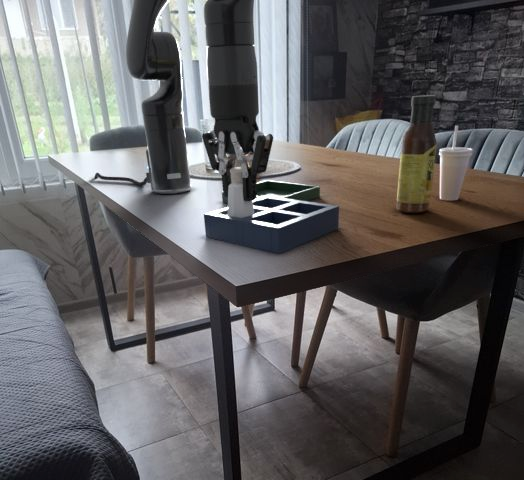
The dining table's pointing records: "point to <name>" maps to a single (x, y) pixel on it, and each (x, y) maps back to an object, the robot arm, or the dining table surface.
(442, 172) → the smoothie
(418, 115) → the sauce bottle
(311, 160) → the dining table surface
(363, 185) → the dining table surface
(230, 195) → the pepper shaker
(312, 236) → the rack
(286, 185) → the tray
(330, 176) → the dining table surface
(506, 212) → the dining table surface
